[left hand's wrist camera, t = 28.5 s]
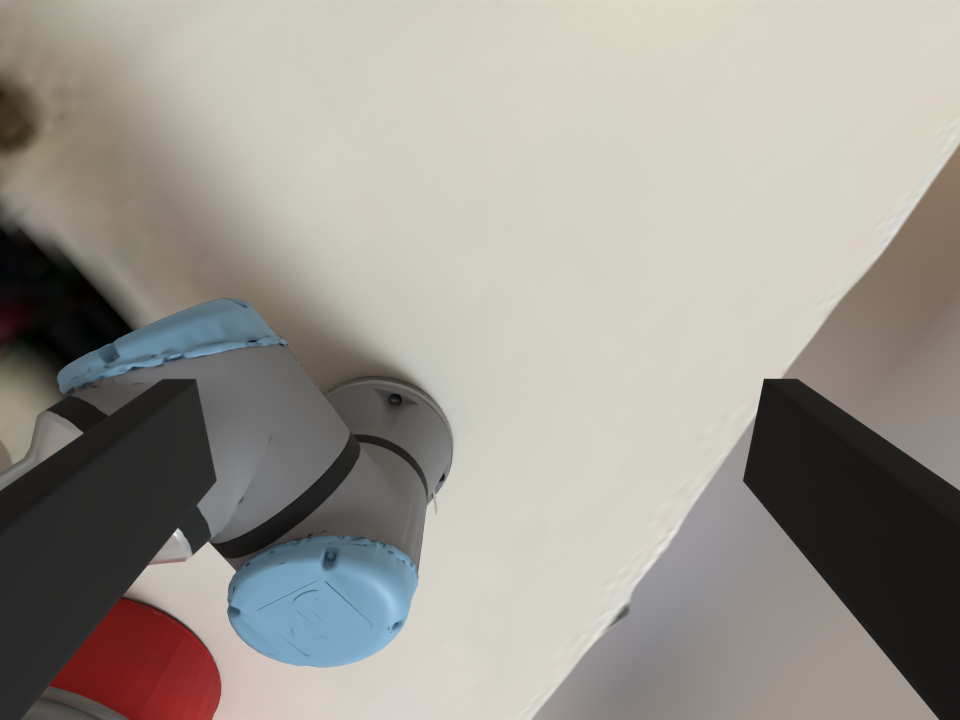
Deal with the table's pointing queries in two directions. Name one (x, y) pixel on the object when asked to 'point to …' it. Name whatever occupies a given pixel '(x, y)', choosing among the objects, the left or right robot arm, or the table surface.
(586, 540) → the table surface
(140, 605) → the bucket
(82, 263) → the table surface
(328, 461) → the left robot arm
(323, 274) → the table surface
